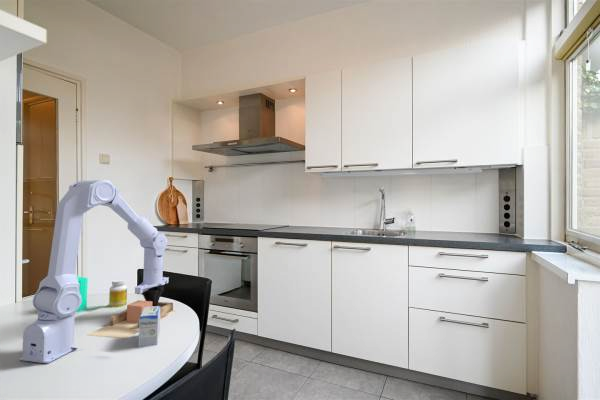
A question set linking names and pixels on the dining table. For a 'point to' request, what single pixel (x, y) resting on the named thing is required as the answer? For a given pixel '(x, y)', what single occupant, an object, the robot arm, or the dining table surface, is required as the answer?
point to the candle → (82, 292)
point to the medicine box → (149, 326)
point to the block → (136, 310)
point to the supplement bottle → (118, 293)
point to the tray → (127, 323)
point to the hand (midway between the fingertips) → (152, 310)
